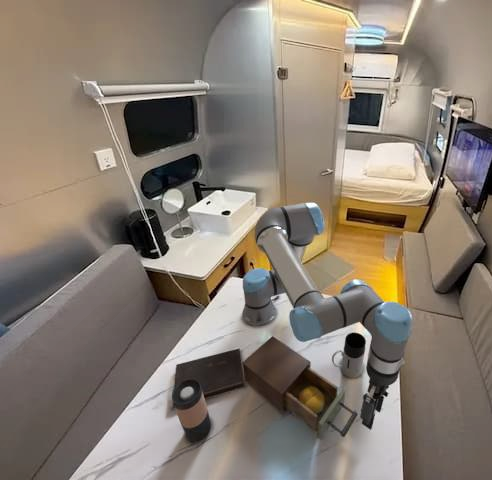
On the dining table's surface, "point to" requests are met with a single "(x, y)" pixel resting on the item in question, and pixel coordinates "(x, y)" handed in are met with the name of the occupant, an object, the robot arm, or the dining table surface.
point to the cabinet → (274, 370)
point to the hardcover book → (213, 373)
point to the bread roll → (312, 399)
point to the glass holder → (352, 355)
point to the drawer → (330, 407)
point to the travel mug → (192, 410)
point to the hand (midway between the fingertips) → (371, 416)
